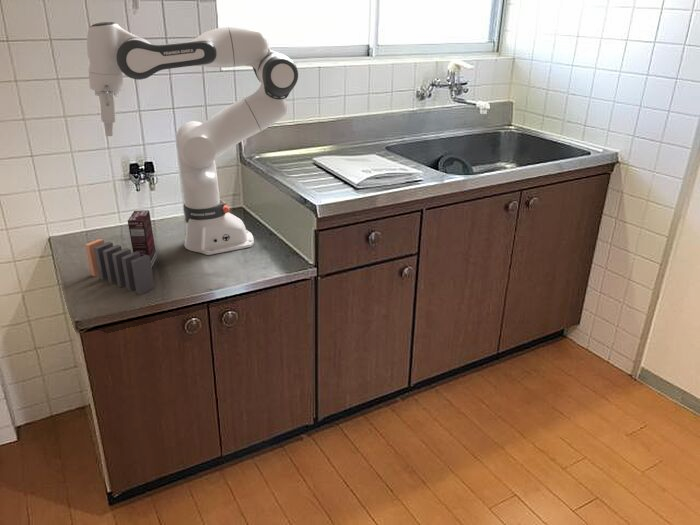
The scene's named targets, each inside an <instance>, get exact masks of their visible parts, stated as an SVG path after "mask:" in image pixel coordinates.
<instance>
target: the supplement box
mask: <svg viewBox="0 0 700 525" xmlns="http://www.w3.org/2000/svg"><path fill="white" fill-rule="evenodd" d="M127 224H128V232H129V236H130V242H131V247H132V248H131V249H132V253H133V252H136V251H137V252H140V256H144V255H149V256H150V261H151V268H153V266H154V264H155V262H156V259H157V257H158V255H157V250H156V245H155V244H156V243H155V239H154V233H153V227H152V220H151V214H150V210H148V209H147V210H145V209H143V210H141V209H140V210H133V212H132V214H131V215H130V216H129V218H128V219H127Z"/></svg>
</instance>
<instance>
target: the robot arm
mask: <svg viewBox="0 0 700 525" xmlns="http://www.w3.org/2000/svg"><path fill="white" fill-rule="evenodd" d="M86 37H87V38H86V39H87V40H86V46H87V47H86V49H87V50H86V51H87V57H88V60H89V66H88V79H89V89H90V90H92V91H94V95H95V96H97V97H98V99H99V104H100V106H99V107H100V119H101V122H102V123H104V130H105V136H106V137H113V127H114V126H113V124H114V123H116V105H115V104H116V103H115V102H116V98H117V97H119V96H120V92H122V91H123V90H124V76H123V74H124V75H125V76H126V77H128V78H130V79H133V80H144V79H147V78H149V77H151V76H153V75H154V74H156V73H158V72H160V71H163V70H169V69H177V68H178V69H179V68H185V67H195V66H196V67H208V68H236V67H242V66H243V67H244V66H245V67H252V70H253V72H254V74H255V76H256V78H257V80H258V81H259V82H260V86H259V88H258V89H256V91H254V92H253V93H252V94H250V95H248V96H246V97H244V98H241V99H239V100H238V101H236V102H234V103H232V104H230V105H227V106H226V107H224V108H222V109H220V110H218V112H217V113H216V114H214V115H213V116H211V117H210V118H209V119H207V120H206V121H204V122H200V121H197V120H190V121H187V122H185V123H183V124H182V125H181V126H180V127H179V128H178V131H177V133H176V144H177V145H176V146H177V154H178V162H179V163H178V164H179V169H180V176H181V184H182V194H183V201H184V203H183V216H184V220H185V221H184V222H185V238H184V239H185V240H184V244H183V245H184V248H185V249H187V250H188V251H191V252H195V253H201V254H203V255H206V256H209V255H211V256H212V255H215V254H220V253H226V252H231V251H237V250H242V249H246V248H251V247H252V246H253V245H254V244H255V239H254V236H253V234H252V232H250V231H249V230H248V229H246V225H245V224H244V221H243V220H242V219H241V218H239V217H237V216H236V215H234V214H232V213H231V212H230V207H229V205H227V203H226V202H225V201H224V200H220V199H221V198H220V190H219V188H220V187H219V178H218V174H217V173H218V172H217V165H216V160H217V159H218V158H219V157H221V156H222V155H224V154H225V153H227V152H229V150H231V149H232V148H233V147H235V146H237V145H238V144H239V143H241V142H243V141H246V140H247V139H248V138H251V137H253V136H255V135H257V134H258V133H260V132H263V131H264V130H266V129H268V128H269V127H271V126H272V125H274V124H276V123H277V122H278V121H279V120H281V119H282V118H283V117H284V116H286V114H287V109H288V107H287V102H286V101H287V100H286V99H287V98H288V97H289V95H290V93H291V92H292V90H294V88H295V87H296V84H297V82H298V80H299V70H298V68H297V65H296V63H295V62H294V61H293V60H292V59H291V58H289V57H288V56H287V55H285V54H283V53H280V52H277V51H275V50H272V49H271V48H270V44H269V43H270V42H269V39H268V36H267V35H266V33H265V32H264V31H263V30H262V29H260V28H259V27H253V26H224V27H217V28H214V29H213V28H212V29H209V30H206V31H204V32H202V33H201V34H200V35H198V36H197V37H196V38H194V39H192V40H188V41H185V42H177V43H175V42H173V43H168V44H167V43H165V44H153V43H150V41H148V40H147V39H145V38H143V37H140V36H138V35H136V34H133V33H131V32H130V31H128V30H126V29H125V28H122V27H121V26H120V25H119V24H118V23H117V22H113V21H108V22H107V21H104V22H103V21H101V22H97V23H94V24H92V25H91V26H90V27H89V28H88V29H87V36H86Z"/></svg>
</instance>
